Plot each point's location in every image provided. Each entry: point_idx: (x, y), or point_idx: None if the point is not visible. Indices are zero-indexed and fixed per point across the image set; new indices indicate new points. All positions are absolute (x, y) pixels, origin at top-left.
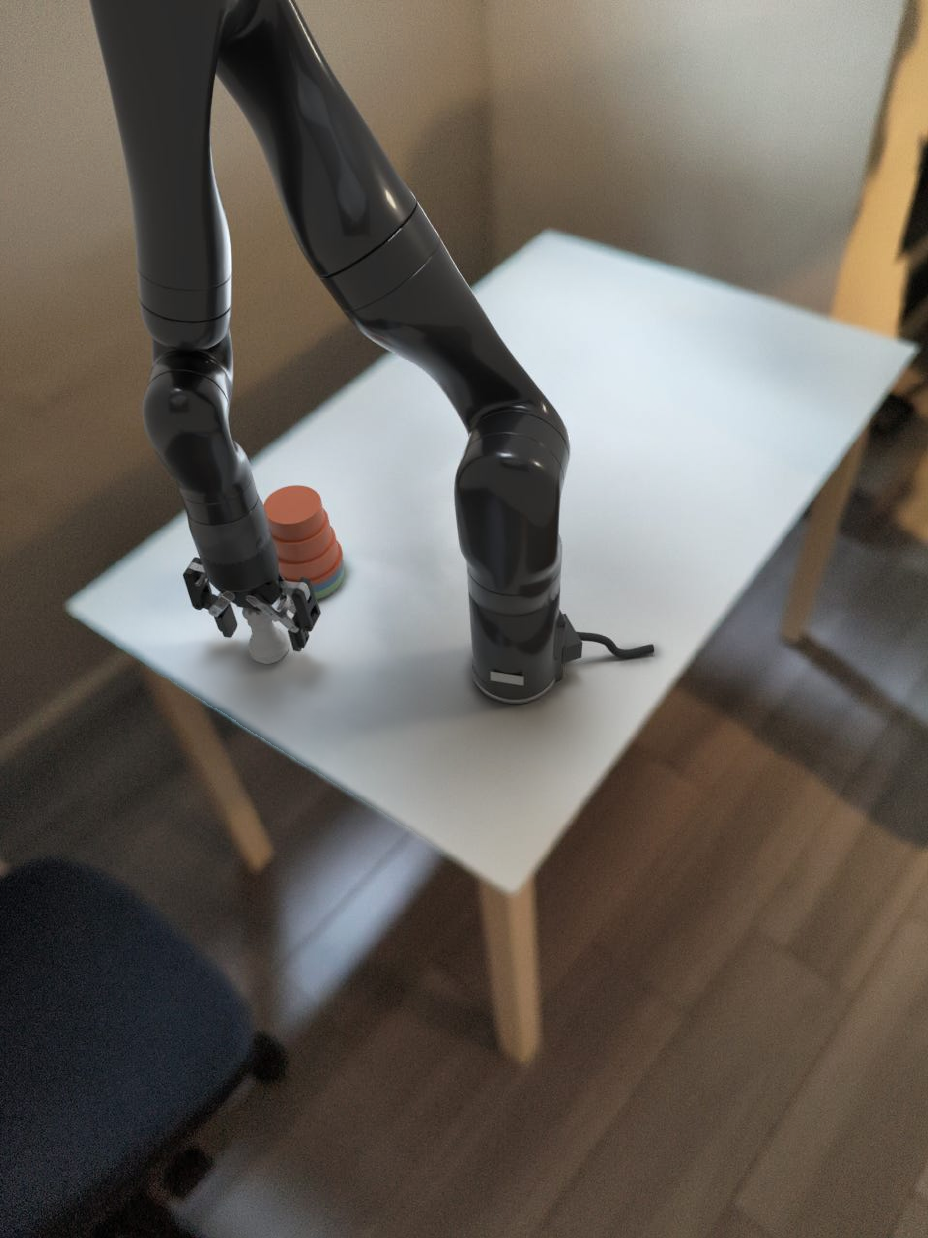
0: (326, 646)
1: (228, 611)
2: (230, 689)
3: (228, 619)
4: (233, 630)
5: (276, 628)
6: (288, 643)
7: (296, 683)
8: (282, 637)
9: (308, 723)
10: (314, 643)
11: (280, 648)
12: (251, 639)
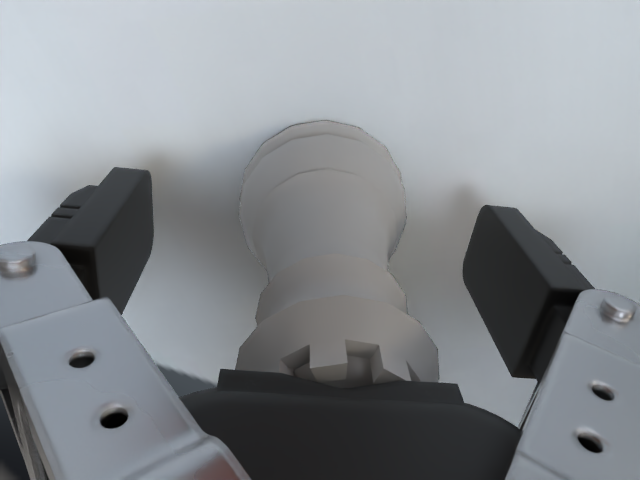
0: (552, 142)
1: (105, 273)
2: (234, 351)
3: (122, 271)
4: (149, 214)
5: (376, 212)
6: (397, 168)
7: (451, 308)
8: (395, 209)
9: (505, 413)
10: (500, 132)
11: (393, 252)
12: (263, 262)
